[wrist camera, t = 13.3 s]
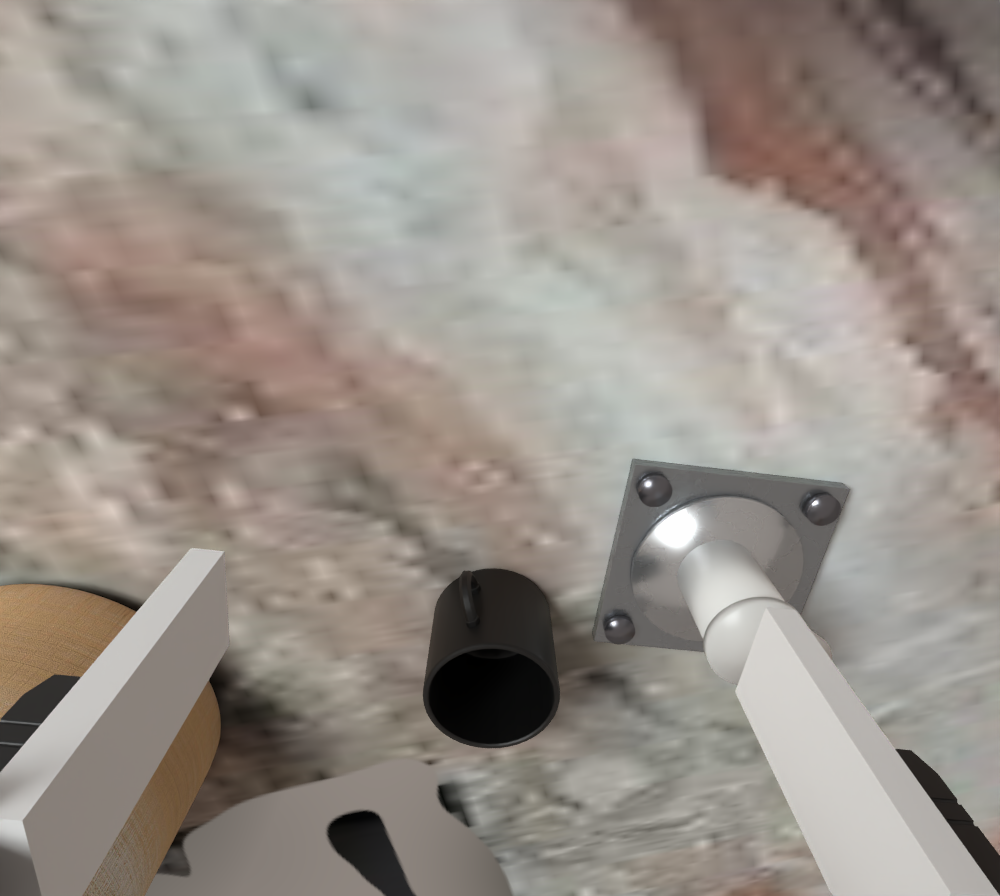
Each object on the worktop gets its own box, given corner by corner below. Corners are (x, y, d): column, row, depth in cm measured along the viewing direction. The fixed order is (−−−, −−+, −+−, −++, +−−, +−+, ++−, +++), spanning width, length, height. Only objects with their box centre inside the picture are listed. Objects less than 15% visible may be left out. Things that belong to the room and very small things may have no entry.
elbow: (655, 580, 47) (685, 654, 39) (716, 520, 45) (760, 586, 37) (740, 638, 49) (783, 719, 42) (802, 584, 47) (859, 658, 40)
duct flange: (632, 458, 45) (637, 468, 43) (842, 483, 46) (854, 493, 44) (592, 632, 51) (595, 647, 49) (777, 651, 52) (786, 665, 50)
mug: (525, 526, 47) (532, 599, 39) (561, 646, 51) (573, 734, 43) (409, 555, 48) (390, 632, 39) (454, 669, 52) (446, 760, 44)
